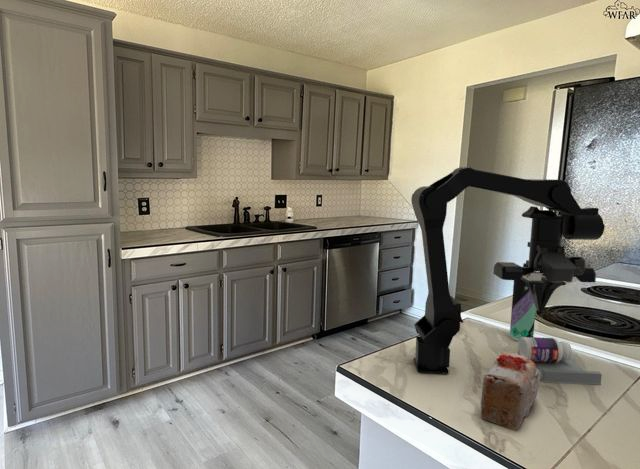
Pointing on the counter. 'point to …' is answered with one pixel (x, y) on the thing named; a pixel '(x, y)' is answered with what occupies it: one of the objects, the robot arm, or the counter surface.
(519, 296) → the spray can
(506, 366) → the food item
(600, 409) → the counter surface
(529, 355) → the pill bottle
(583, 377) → the tray
